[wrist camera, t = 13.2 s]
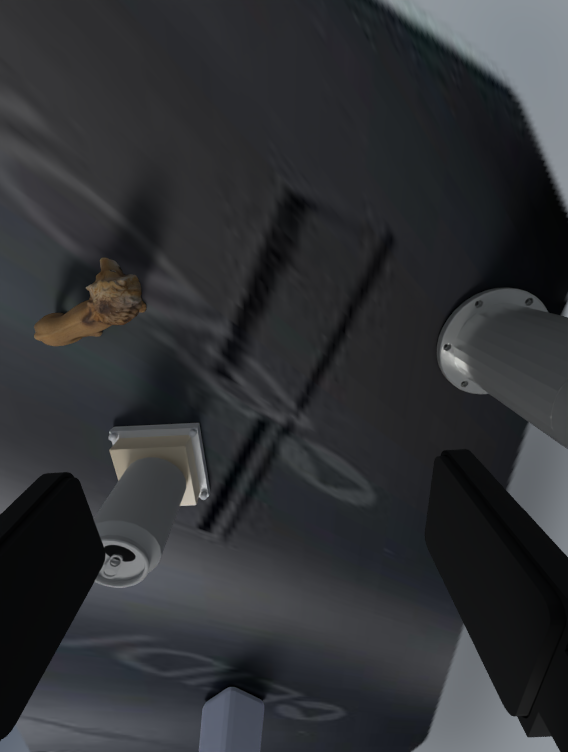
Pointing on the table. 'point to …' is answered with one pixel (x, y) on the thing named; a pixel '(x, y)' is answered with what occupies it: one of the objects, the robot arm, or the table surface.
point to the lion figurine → (95, 308)
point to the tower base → (172, 431)
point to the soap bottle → (232, 722)
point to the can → (138, 520)
